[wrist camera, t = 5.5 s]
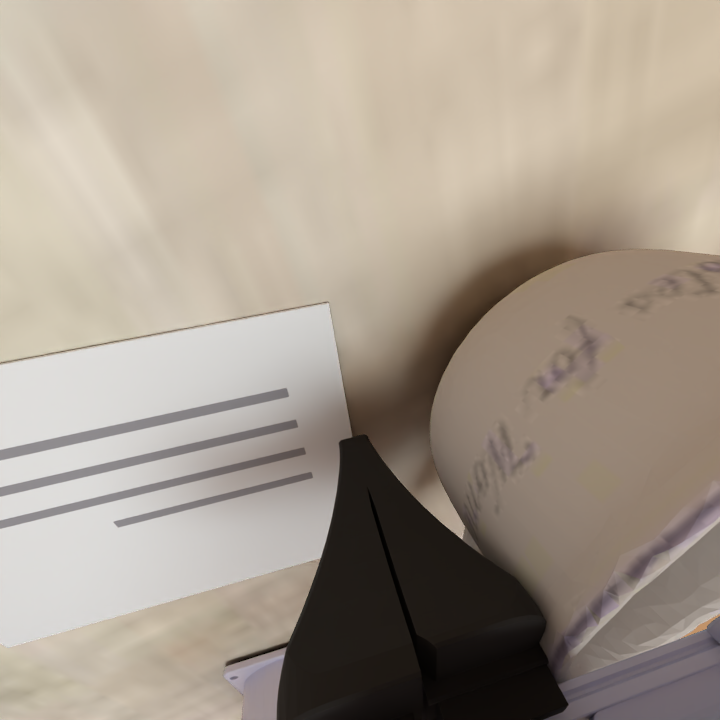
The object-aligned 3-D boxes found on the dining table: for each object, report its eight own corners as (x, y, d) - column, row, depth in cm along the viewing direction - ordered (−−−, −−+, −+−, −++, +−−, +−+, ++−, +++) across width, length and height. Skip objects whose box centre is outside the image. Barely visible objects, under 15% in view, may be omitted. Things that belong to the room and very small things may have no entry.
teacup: (560, 148, 9) (1385, 45, 2) (668, 330, 14) (1028, 461, 8) (296, 470, 13) (331, 801, 6) (460, 523, 18) (580, 732, 11)
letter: (370, 541, 17) (371, 543, 17) (9, 644, 15) (7, 648, 15) (328, 302, 10) (328, 303, 10) (-376, 433, 8) (-385, 437, 8)
